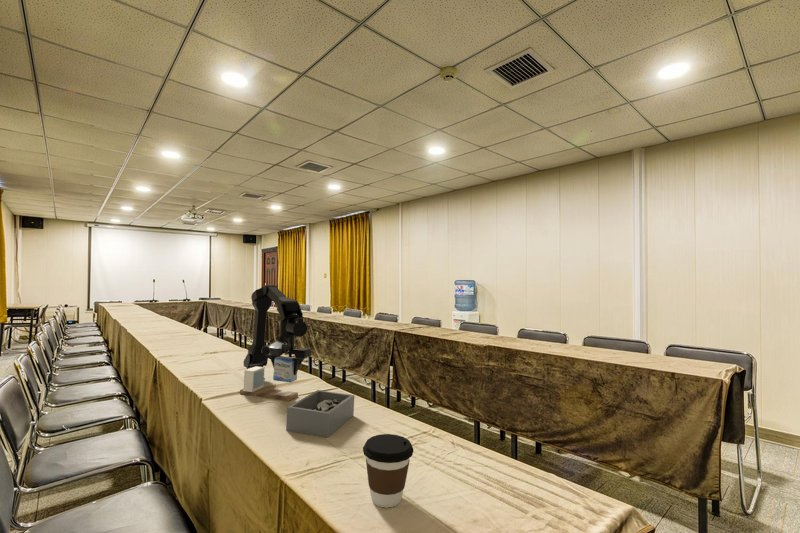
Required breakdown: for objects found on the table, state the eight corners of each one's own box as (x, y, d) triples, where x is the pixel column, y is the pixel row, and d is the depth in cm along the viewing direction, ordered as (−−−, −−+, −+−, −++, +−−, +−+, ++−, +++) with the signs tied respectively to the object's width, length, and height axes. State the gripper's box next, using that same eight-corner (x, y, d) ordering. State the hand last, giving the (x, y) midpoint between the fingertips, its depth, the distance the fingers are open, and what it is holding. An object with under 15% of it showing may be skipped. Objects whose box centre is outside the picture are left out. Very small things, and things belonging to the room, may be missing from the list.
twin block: (243, 390, 148) (244, 370, 148) (255, 386, 154) (256, 366, 154) (252, 392, 146) (253, 371, 147) (264, 387, 153) (265, 367, 153)
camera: (326, 416, 129) (326, 390, 128) (345, 421, 125) (345, 394, 125) (300, 433, 117) (299, 404, 117) (320, 438, 113) (319, 408, 113)
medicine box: (272, 380, 146) (273, 357, 146) (279, 377, 150) (280, 355, 150) (290, 382, 143) (291, 359, 144) (297, 379, 148) (298, 357, 148)
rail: (239, 393, 149) (240, 389, 149) (249, 389, 154) (250, 385, 154) (289, 401, 142) (289, 396, 142) (297, 396, 148) (298, 392, 148)
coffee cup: (410, 486, 88) (412, 433, 88) (413, 516, 77) (415, 455, 77) (362, 485, 87) (364, 432, 88) (358, 515, 76) (361, 454, 77)
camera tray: (286, 430, 116) (287, 407, 116) (316, 410, 134) (317, 390, 134) (327, 437, 112) (328, 413, 112) (353, 415, 130) (354, 395, 130)
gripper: (253, 333, 142) (251, 375, 142) (297, 338, 137) (295, 381, 136) (271, 330, 153) (269, 369, 152) (313, 334, 147) (311, 374, 147)
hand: (285, 373), depth 147 cm, fingers closed on medicine box, 8 cm apart
